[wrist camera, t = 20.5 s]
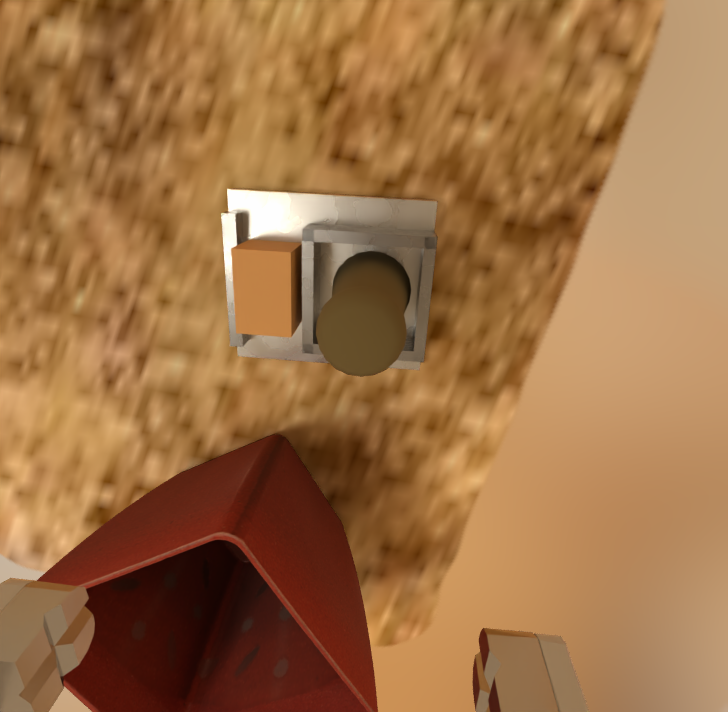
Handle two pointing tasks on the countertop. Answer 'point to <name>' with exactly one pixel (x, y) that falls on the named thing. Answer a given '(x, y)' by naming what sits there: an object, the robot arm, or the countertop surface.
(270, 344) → the grey tray with frame
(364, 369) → the cork
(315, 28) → the countertop surface
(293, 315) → the bracket block
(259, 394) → the countertop surface
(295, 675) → the plant pot
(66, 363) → the countertop surface
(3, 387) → the countertop surface
